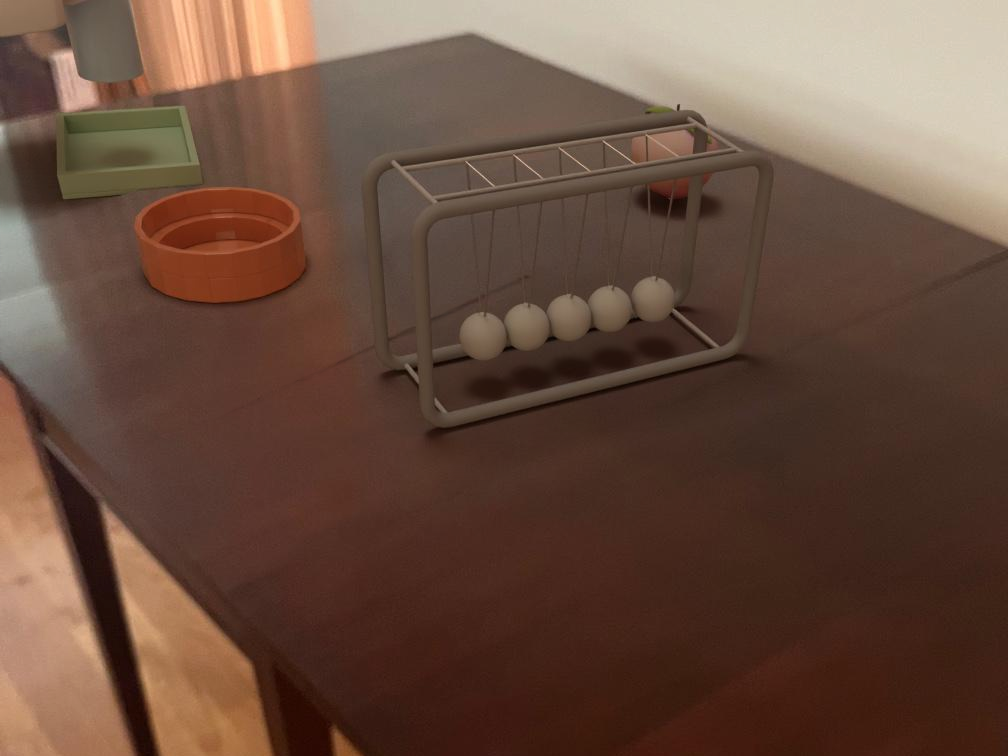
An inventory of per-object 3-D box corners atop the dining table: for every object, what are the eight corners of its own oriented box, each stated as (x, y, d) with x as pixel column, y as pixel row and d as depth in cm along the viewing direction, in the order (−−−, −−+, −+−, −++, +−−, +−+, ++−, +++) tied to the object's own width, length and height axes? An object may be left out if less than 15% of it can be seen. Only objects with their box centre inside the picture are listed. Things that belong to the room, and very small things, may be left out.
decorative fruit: (609, 200, 124) (615, 103, 117) (654, 178, 129) (662, 84, 122) (682, 226, 120) (692, 127, 113) (725, 202, 125) (737, 106, 118)
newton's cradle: (684, 303, 107) (706, 104, 95) (748, 356, 100) (780, 149, 89) (375, 371, 95) (356, 154, 84) (424, 436, 89) (412, 210, 77)
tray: (204, 188, 121) (199, 164, 119) (63, 199, 117) (57, 175, 115) (189, 127, 133) (185, 105, 131) (61, 136, 129) (55, 113, 127)
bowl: (208, 324, 100) (198, 269, 96) (114, 269, 106) (102, 216, 103) (338, 272, 108) (332, 220, 105) (243, 224, 115) (235, 174, 111)
